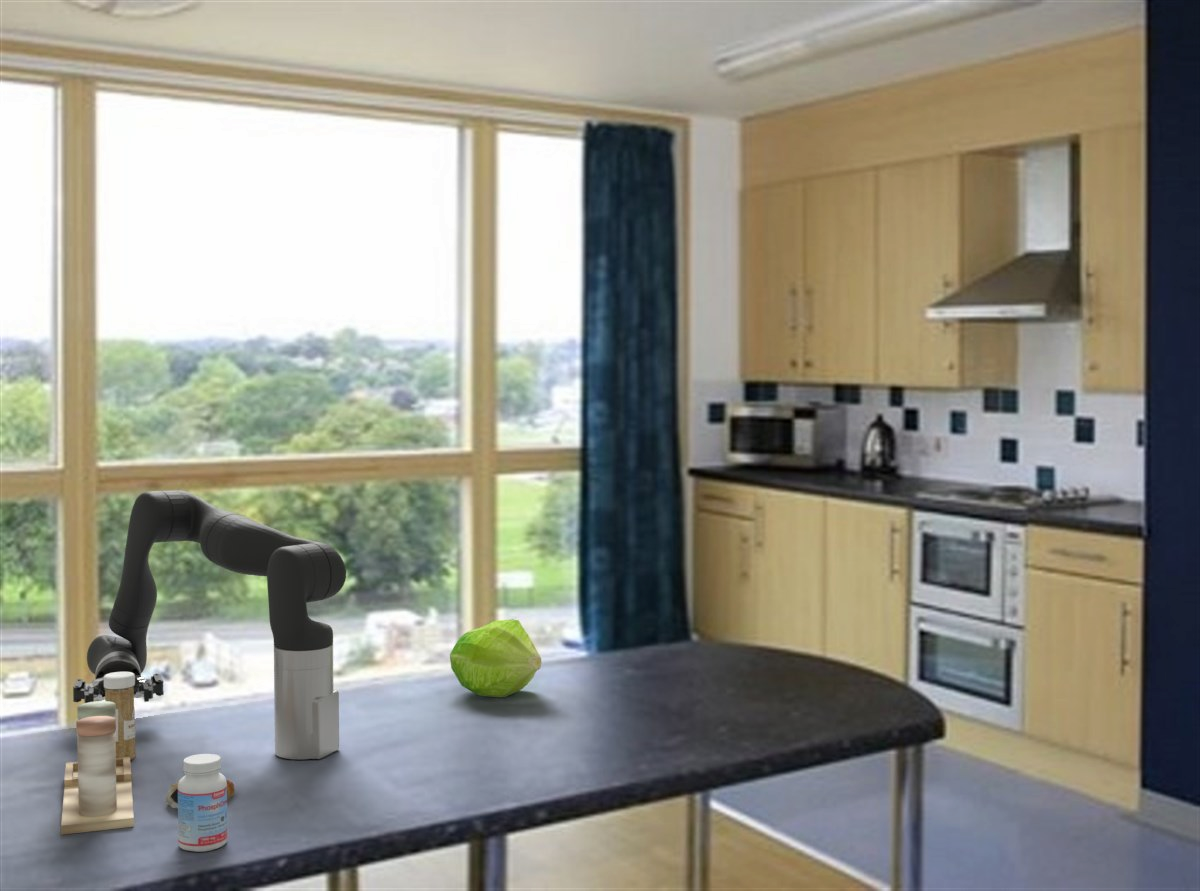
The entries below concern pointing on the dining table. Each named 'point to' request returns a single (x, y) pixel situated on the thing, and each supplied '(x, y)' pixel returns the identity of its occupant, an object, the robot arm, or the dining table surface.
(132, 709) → the spice jar
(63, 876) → the dining table surface
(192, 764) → the pill bottle
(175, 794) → the pastry
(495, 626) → the lettuce
